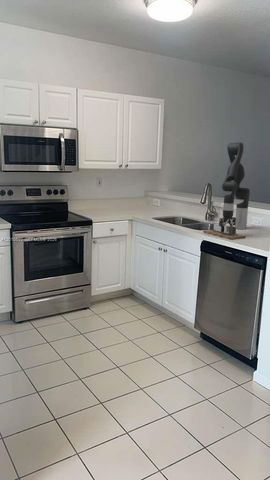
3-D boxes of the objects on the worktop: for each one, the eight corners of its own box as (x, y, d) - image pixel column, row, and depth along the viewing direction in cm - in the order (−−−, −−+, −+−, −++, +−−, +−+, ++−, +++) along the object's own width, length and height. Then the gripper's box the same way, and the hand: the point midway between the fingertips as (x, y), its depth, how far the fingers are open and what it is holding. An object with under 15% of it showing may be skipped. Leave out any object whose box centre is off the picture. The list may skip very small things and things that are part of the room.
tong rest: (203, 232, 296) (203, 222, 294) (217, 231, 302) (217, 221, 301) (231, 239, 270) (231, 229, 269) (245, 238, 277) (246, 227, 276)
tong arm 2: (215, 229, 294) (216, 223, 293) (217, 229, 295) (217, 223, 294) (233, 234, 277) (234, 227, 276) (235, 234, 278) (236, 227, 277)
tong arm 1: (213, 230, 293) (213, 223, 292) (214, 230, 294) (215, 223, 293) (231, 234, 276) (231, 227, 275) (233, 234, 277) (233, 227, 276)
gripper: (224, 210, 273) (222, 233, 276) (239, 209, 280) (237, 231, 283) (217, 209, 280) (215, 231, 283) (231, 208, 287) (230, 230, 290)
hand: (226, 231), depth 283 cm, fingers open, 7 cm apart
